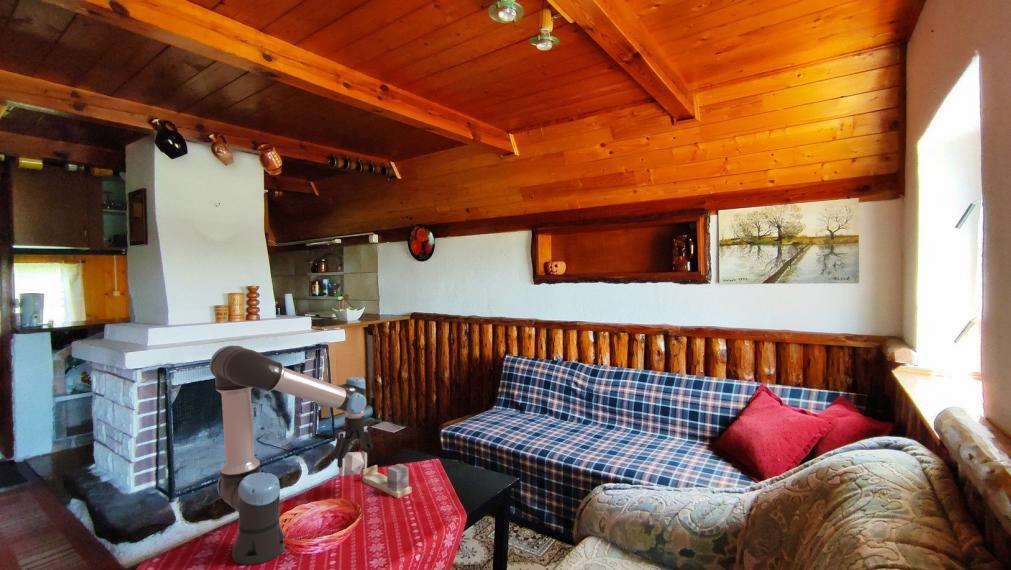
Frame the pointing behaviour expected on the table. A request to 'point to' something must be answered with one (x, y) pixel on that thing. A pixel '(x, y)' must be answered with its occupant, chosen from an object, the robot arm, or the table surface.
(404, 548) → the table surface
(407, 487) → the rail
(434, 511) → the table surface
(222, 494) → the robot arm
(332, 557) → the table surface
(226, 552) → the table surface
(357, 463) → the die
